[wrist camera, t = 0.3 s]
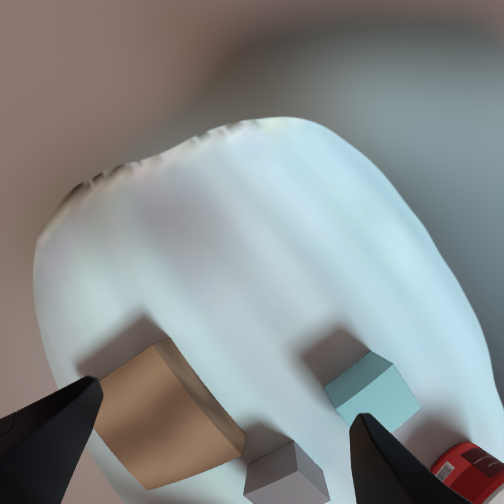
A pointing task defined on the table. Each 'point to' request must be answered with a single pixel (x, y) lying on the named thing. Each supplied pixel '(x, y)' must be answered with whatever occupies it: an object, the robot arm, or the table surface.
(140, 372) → the walnut base block
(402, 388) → the teal cube
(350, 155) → the table surface
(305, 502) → the gray cube
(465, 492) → the canned food
